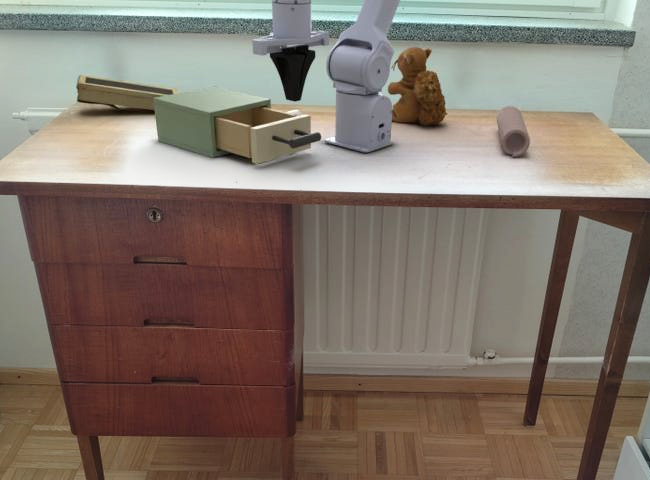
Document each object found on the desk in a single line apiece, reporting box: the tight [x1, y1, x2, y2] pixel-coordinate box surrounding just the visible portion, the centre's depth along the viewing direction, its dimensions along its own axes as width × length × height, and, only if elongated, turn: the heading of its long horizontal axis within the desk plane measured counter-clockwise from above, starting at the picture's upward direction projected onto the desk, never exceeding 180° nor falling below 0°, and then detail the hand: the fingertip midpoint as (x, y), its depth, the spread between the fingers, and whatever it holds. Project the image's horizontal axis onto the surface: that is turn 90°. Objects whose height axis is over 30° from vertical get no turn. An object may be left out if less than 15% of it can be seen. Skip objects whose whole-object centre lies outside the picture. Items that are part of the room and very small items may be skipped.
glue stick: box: [286, 109, 303, 116], centre depth 126 cm, size 8×3×3 cm, turn 141°
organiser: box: [153, 86, 272, 159], centre depth 117 cm, size 14×14×7 cm
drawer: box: [214, 106, 322, 165], centre depth 111 cm, size 18×12×5 cm
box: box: [75, 74, 180, 112], centre depth 135 cm, size 8×22×5 cm, turn 107°
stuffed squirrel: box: [387, 46, 449, 127], centre depth 132 cm, size 10×14×13 cm
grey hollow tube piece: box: [496, 105, 531, 158], centre depth 123 cm, size 5×5×18 cm
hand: (293, 100), depth 107 cm, fingers closed
